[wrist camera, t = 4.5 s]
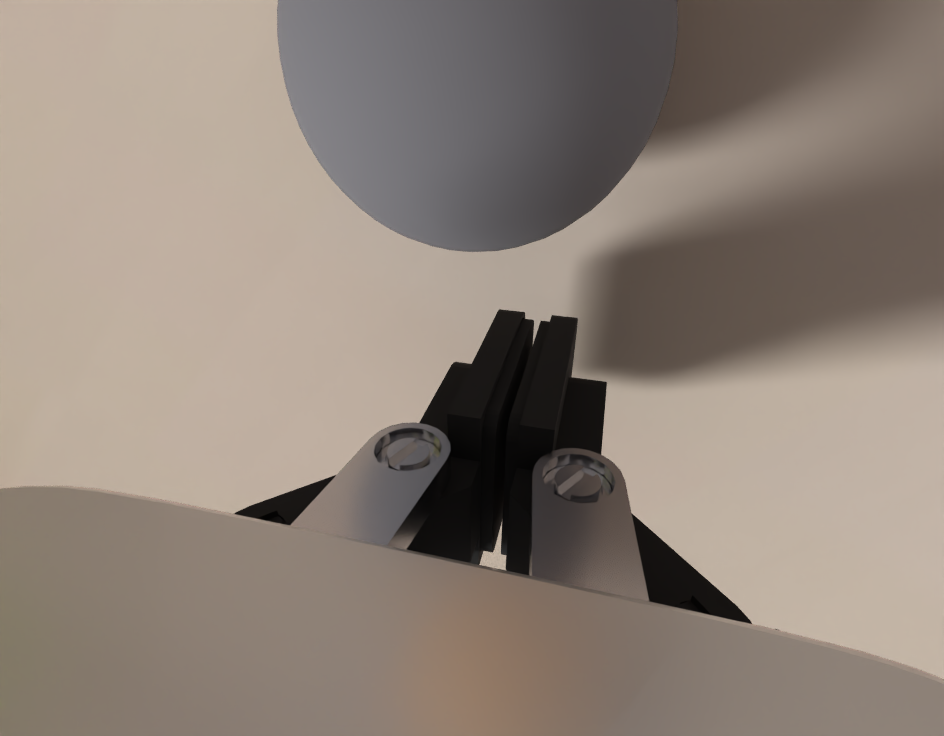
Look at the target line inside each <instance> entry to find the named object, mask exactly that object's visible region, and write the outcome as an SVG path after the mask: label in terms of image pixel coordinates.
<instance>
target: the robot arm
mask: <svg viewBox="0 0 944 736" xmlns="http://www.w3.org/2000/svg"><path fill="white" fill-rule="evenodd" d="M577 322H578V318H572V317H563V316H554V315H552V317H551V320H550V322H547V321H541V322H540V325H539V328H538V331H537V335H536V338H535V341H534V344H533V330H534V320H529V319H525V312H518V311H509V310H500V309H499V311H498V312H497V314H496V316H495V318H494V320H493V322H492V324H491V326H490V328H489V330H488V332H487V334H486V336H485V338H484V341H483V343H482V345H481V347H480V349H479V351H478V353H477V355H476V357H475V359H474V361H473V363H472V364H467V363H460V362H454V363H453V364H452V365H451V367H450V369H449V371H448V372H447V374H446V376H445V378H444V380H443V381H442V383H441V385H440V387H439V389H438V390H437V392H436V394H435V396H434V397H433V399H432V401H431V403H430V405H429V406H428V408H427V410H426V412H425V414H424V415H423V417H422V419H421V421H420V423H401V424H397V425H392V426H389V427H387V428H385V429H383V430H381V431H379V432H378V433H376V434H375V435H374V436H373V437H371V438H370V439H369V441H368V442H367V443H366V444H365V445H364V446H363V447H362V448H361V449H360V450H359V451H358V452H357V454H356V455H355V456H354V457H353V458H352V459H351V460H350V461H349V462H348V463H347V464H346V465H345V467H344V468H343V469H342V470H341V471H340V472H339V473H338V474H337V475H335V476H332V477H330V478H327V479H324V480H321V481H318V482H316V483H313V484H310V485H307V486H304V487H302V488H299V489H296V490H293V491H290V492H288V493H285V494H282V495H279V496H277V497H274V498H271V499H268V500H265V501H263V502H260V503H257V504H254V505H251V506H249V507H247V508H245V509H243V510H240V511H238V512H236V513H235V514H231V513H226V512H221V511H216V510H211V509H206V508H201V507H196V506H191V505H186V504H182V503H177V502H172V501H167V500H162V499H156V498H150V497H144V496H138V495H132V494H126V493H120V492H114V491H108V490H101V489H95V488H83V487H72V486H20V487H11V488H2V489H0V736H944V679H942V678H939V677H937V676H934V675H932V674H929V673H927V672H924V671H922V670H919V669H917V668H914V667H910V666H907V665H904V664H901V663H898V662H895V661H891V660H888V659H885V658H882V657H879V656H875V655H872V654H869V653H866V652H863V651H859V650H855V649H851V648H847V647H843V646H839V645H835V644H831V643H827V642H823V641H819V640H815V639H811V638H807V637H803V636H799V635H795V634H791V633H787V632H783V631H780V630H777V629H771V628H767V627H763V626H759V625H754V624H752V623H751V621H750V620H749V619H748V618H747V617H746V615H745V614H744V613H743V612H742V611H741V610H740V609H739V608H738V607H737V606H736V605H735V604H734V603H733V602H732V601H731V600H729V599H728V598H727V597H726V596H725V595H724V594H723V593H721V592H720V591H719V590H718V589H717V588H716V587H715V586H714V585H712V584H711V583H710V582H709V581H708V580H707V579H706V578H704V577H703V576H702V575H701V574H700V573H699V572H698V571H697V570H695V569H694V568H693V567H692V566H691V565H690V564H689V563H687V562H686V561H685V560H684V559H683V558H682V557H681V556H679V555H678V554H677V553H676V552H675V551H674V550H673V549H672V548H670V547H669V546H668V545H667V544H666V543H665V542H664V541H662V540H661V539H660V538H659V537H658V536H657V535H656V534H655V533H653V532H652V531H651V530H650V529H649V528H648V527H647V526H645V525H644V524H643V523H642V522H641V521H640V520H639V519H638V518H636V517H635V516H634V515H633V514H632V513H631V508H630V503H629V498H628V493H627V488H626V483H625V480H624V477H623V475H622V473H621V470H620V469H619V468H618V467H617V466H616V465H615V464H614V463H613V462H612V461H610V460H609V459H607V458H606V457H604V456H603V455H601V449H602V436H603V423H604V411H605V398H606V385H607V382H603V381H595V380H587V379H580V378H572V377H571V375H572V366H573V358H574V349H575V340H576V332H577ZM532 345H533V347H532ZM501 522H502V541H501V554H503V555H507V556H506V570H507V571H505V570H501V569H496V568H491V567H486V566H482V565H479V564H480V560H481V557H482V554H483V551H488V552H493V551H494V548H495V544H496V541H497V537H498V533H499V530H500V526H501Z"/></svg>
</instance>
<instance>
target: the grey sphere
mask: <svg viewBox="0 0 944 736" xmlns="http://www.w3.org/2000/svg"><path fill="white" fill-rule="evenodd" d="M677 30H678V16H677V0H278V7H277V33H278V44H279V53H280V60H281V65H282V70H283V75H284V80H285V85H286V89H287V92H288V96H289V99H290V102H291V106H292V109H293V111H294V114H295V116H296V119H297V121H298V124H299V127H300V129H301V131H302V133H303V135H304V137H305V139H306V141H307V143H308V145H309V147H310V148H311V150H312V151H313V153H314V155H315V156H316V158H317V160H318V161H319V163H320V164H321V166H322V167H323V168H324V170H325V171H326V172H327V174H328V175H329V177H330V178H331V179H332V180H333V181H334V182H335V184H336V185H337V186H338V187H339V188H340V189H341V190H342V191H343V192H344V193H345V194H346V195H347V196H348V197H349V198H350V199H351V200H352V201H353V202H354V203H355V204H356V205H357V206H358V207H359V208H361V209H362V210H363V211H364V212H366V213H367V214H368V215H370V216H371V217H372V218H373V219H375V220H376V221H378V222H379V223H381V224H383V225H384V226H386V227H387V228H389V229H391V230H393V231H395V232H397V233H399V234H401V235H403V236H405V237H407V238H410V239H413V240H416V241H419V242H422V243H425V244H428V245H430V246H434V247H439V248H443V249H448V250H456V251H467V252H481V251H499V250H504V249H510V248H515V247H519V246H522V245H525V244H528V243H531V242H534V241H537V240H541V239H544V238H546V237H548V236H550V235H552V234H554V233H556V232H558V231H560V230H562V229H564V228H566V227H567V226H569V225H570V224H572V223H573V222H575V221H576V220H578V219H579V218H581V217H582V216H583V215H585V214H586V213H588V212H589V211H591V210H592V209H593V208H594V207H595V206H596V205H597V204H599V203H600V202H601V201H602V200H603V199H604V198H605V197H606V196H607V195H608V194H609V193H610V192H611V191H612V190H613V189H614V187H615V186H616V185H617V184H618V183H619V181H620V180H621V179H622V178H623V177H624V176H625V174H626V173H627V172H628V171H629V170H630V168H631V167H632V165H633V164H634V162H635V161H636V159H637V158H638V156H639V154H640V153H641V151H642V150H643V148H644V147H645V145H646V143H647V141H648V139H649V137H650V135H651V132H652V130H653V128H654V126H655V124H656V122H657V119H658V117H659V114H660V111H661V108H662V105H663V102H664V99H665V96H666V93H667V90H668V87H669V83H670V78H671V74H672V69H673V64H674V60H675V51H676V41H677Z"/></svg>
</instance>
